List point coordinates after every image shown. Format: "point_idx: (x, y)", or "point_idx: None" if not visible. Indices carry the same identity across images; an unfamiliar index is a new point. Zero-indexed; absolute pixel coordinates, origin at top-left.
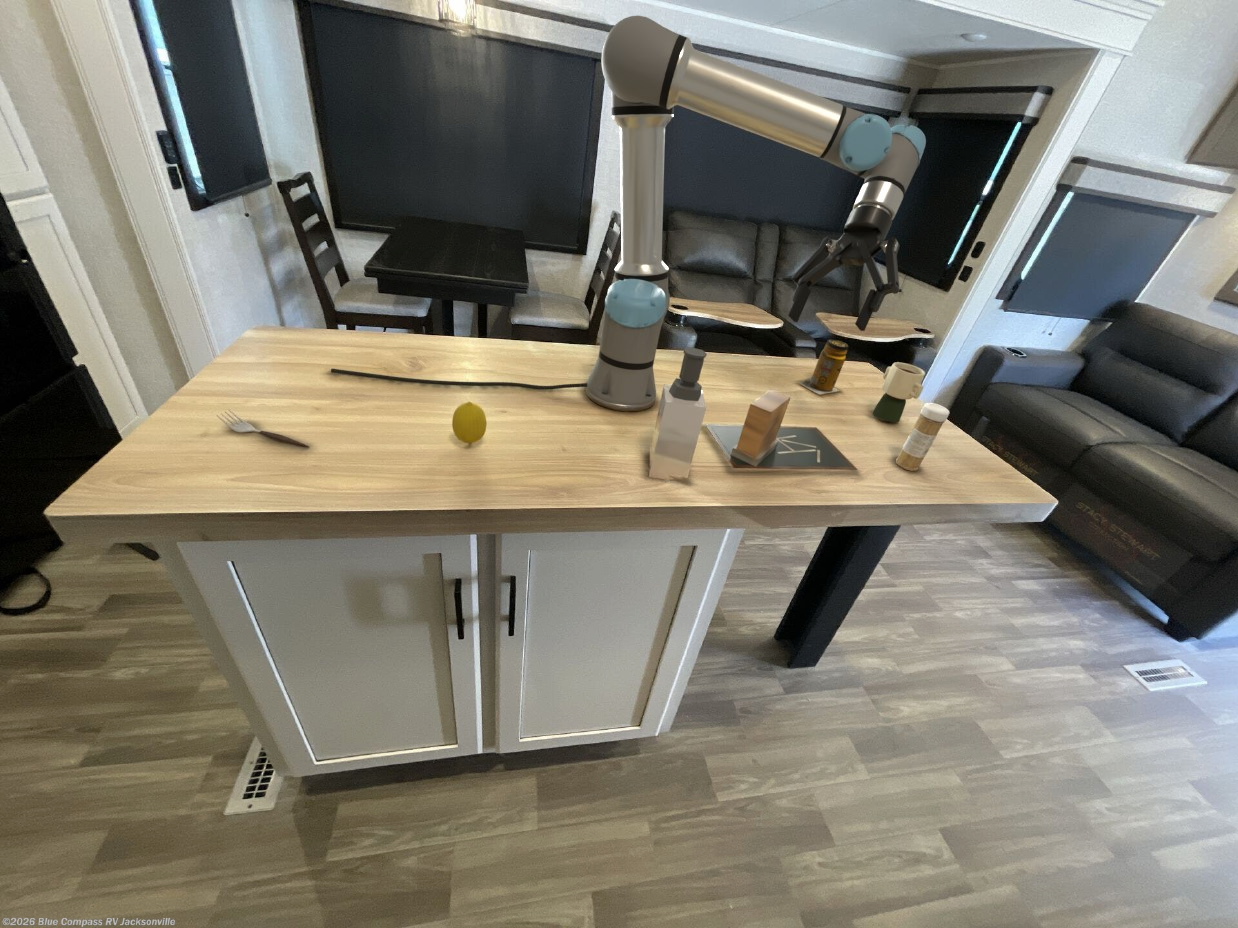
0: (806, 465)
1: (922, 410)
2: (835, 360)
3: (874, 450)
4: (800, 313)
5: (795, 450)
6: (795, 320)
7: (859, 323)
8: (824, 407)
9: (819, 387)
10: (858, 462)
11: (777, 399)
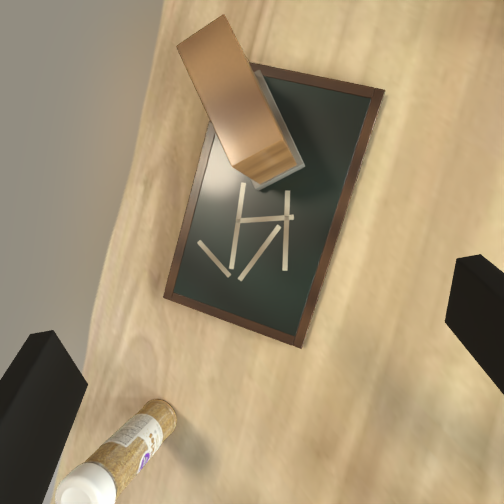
0: (196, 208)
1: (102, 477)
2: None
3: (212, 406)
4: (478, 355)
5: (241, 225)
6: (450, 307)
7: (28, 339)
8: (386, 470)
9: None
10: (191, 334)
11: (227, 113)
